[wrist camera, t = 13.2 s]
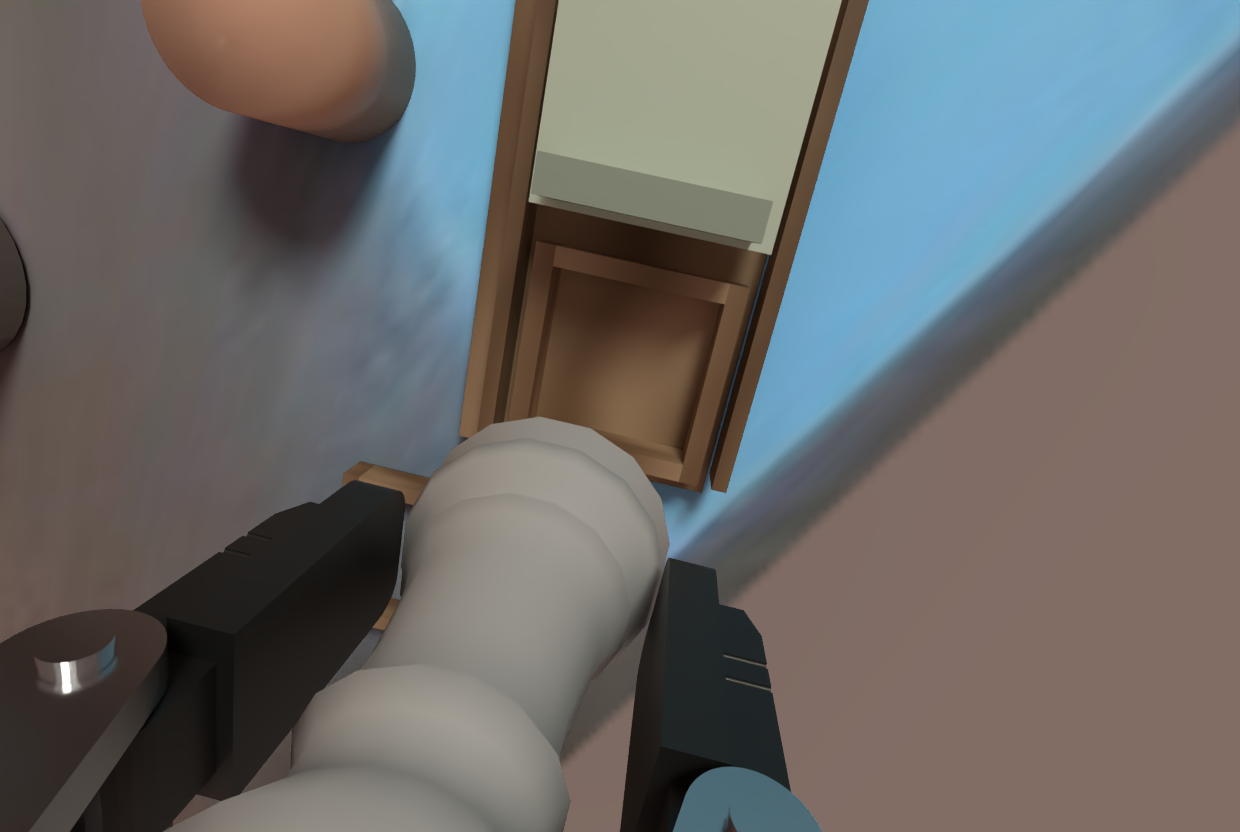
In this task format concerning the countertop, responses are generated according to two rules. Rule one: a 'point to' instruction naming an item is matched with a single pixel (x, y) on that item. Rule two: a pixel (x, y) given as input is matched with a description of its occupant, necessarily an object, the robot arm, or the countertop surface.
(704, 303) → the shallow wooden box
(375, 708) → the rook chess piece
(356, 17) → the tan rounded block
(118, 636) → the robot arm
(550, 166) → the cover
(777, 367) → the countertop surface
